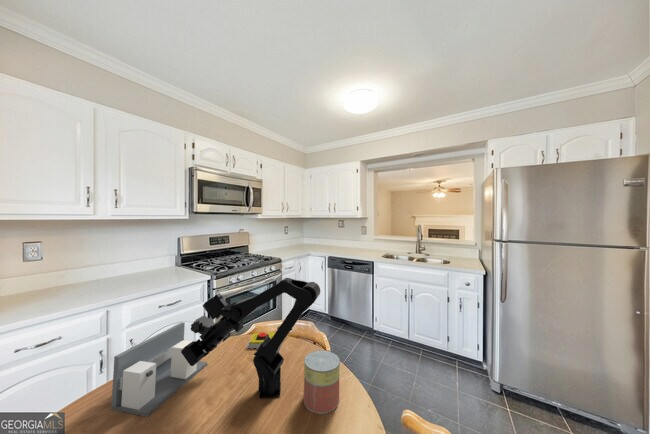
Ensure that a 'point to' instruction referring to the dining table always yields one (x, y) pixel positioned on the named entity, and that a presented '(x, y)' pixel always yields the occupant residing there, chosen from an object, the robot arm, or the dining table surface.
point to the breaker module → (181, 362)
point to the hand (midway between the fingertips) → (192, 357)
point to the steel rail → (155, 361)
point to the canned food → (321, 381)
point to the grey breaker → (138, 385)
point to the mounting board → (163, 381)
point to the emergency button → (258, 339)
